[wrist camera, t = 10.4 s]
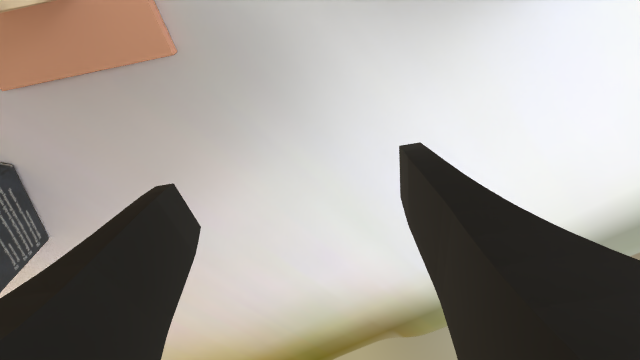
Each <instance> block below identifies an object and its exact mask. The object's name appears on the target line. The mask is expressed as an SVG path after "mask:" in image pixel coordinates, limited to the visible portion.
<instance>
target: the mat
mask: <svg viewBox="0 0 640 360" xmlns="http://www.w3.org/2000/svg"><path fill="white" fill-rule="evenodd" d="M175 53H177V50H176V48H175V46H174V44H173V41H172V39H171V37H170V35H169V33H168V30H167V28H166V26H165V24H164V22H163V19H162V17H161V15H160V13H159V11H158V9H157V6H156V4H155V2H154V0H56V1H51V2H47V3H43V4H38V5H34V6H30V7H25V8H21V9H17V10H12V11H8V12H4V13H0V89H1V90H2V91H6V90H10V89H15V88H20V87H25V86H29V85H34V84H39V83H43V82H48V81H53V80H58V79H62V78H67V77H72V76H77V75H81V74H86V73H91V72H96V71H100V70H105V69H110V68H114V67H119V66H124V65H129V64H133V63H138V62H143V61H148V60H152V59H157V58H162V57H166V56H171V55H174V54H175Z"/></svg>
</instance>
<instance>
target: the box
mask: <svg viewBox="0 0 640 360" xmlns="http://www.w3.org/2000/svg"><path fill="white" fill-rule="evenodd" d="M48 239H49V237H48V235H47V233H46V231H45V229H44V227H43V225H42V224H41V221H40V219H39V217H38V216H37V214H36V212H35V210H34V208H33V206H32V204H31V202H30V200H29V198H28V196H27V194H26V192H25V190H24V188H23V185H22V184H21V182H20V180H19V178H18V175H17V173H16V171H15V169H14V167H13V166H12V165H9V164H3V163H0V292H1V291H2V290H3V289H4V288H5V287H6V286H7V284H8V283H9V282H10V281H11V280H12V279H13V278H14V277H15V276H16V275H17V274H18V272H19V271H20V270H21V269H22V268H23V267H24V266H25V265H26V264H27V263H28V261H29V260H30V259H31V258H32V257H33V256H34V255H35V254H36V253H37V252H38V251H39V249H40V248H41V247H42V246H43V245H44V244H45V243H46V242H47V241H48Z"/></svg>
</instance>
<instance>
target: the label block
mask: <svg viewBox="0 0 640 360" xmlns="http://www.w3.org/2000/svg"><path fill="white" fill-rule="evenodd" d="M51 1H56V0H0V13H4V12H8V11H12V10H17V9H21V8H25V7H30V6H34V5H38V4H43V3H47V2H51Z"/></svg>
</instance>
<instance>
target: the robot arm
mask: <svg viewBox="0 0 640 360" xmlns="http://www.w3.org/2000/svg"><path fill="white" fill-rule="evenodd" d="M399 154H400V193H401V200H402V204H403V208H404V211H405V215H406V218H407V222H408V225H409V228H410V230H411V232H412V235H413V237H414V240H415V242H416V244H417V247H418V249H419V252H420V254H421V256H422V259H423V261H424V263H425V266H426V268H427V271H428V273H429V275H430V278H431V280H432V282H433V285H434V287H435V290H436V292H437V295H438V298H439V300H440V303H441V306H442V309H443V312H444V315H445V319H446V322H447V325H448V328H449V331H450V335H451V338H452V341H453V344H454V348H455V351H456V354H457V358H458V360H640V260H637V259H635V258H632V257H629V256H627V255H624V254H622V253H619V252H617V251H614V250H612V249H609V248H607V247H604V246H602V245H600V244H597V243H595V242H593V241H590V240H588V239H586V238H583V237H581V236H579V235H576V234H574V233H572V232H569V231H567V230H565V229H563V228H561V227H558V226H556V225H554V224H552V223H550V222H548V221H546V220H544V219H542V218H540V217H538V216H536V215H534V214H532V213H530V212H528V211H526V210H524V209H522V208H520V207H518V206H516V205H514V204H513V203H511V202H509V201H507V200H505V199H504V198H502V197H500V196H499V195H497V194H495V193H494V192H492V191H490V190H489V189H487V188H485V187H484V186H482V185H480V184H479V183H477V182H476V181H474V180H472V179H471V178H469V177H468V176H466V175H465V174H463V173H462V172H460V171H459V170H458V169H456V168H455V167H453V166H452V165H450V164H449V163H448V162H446V161H445V160H443V159H442V158H441V157H439V156H438V155H437V154H435V153H434V152H433V151H431V150H430V149H428V148H427V147H426V146H424V145H423V144H422V143H414V144H408V145H402V146H399ZM200 229H201V226H200V225H199V223H198V222H197V220H196V218H195V217H194V215H193V214H192V212H191V210H190V209H189V207H188V206H187V204H186V203H185V201H184V199H183V198H182V196H181V195H180V193H179V191H178V190H177V188H176V187H175V185H174V184H168V185H162V186H156V187H154V188H153V189H151V190H150V191H148V192H147V193H145V194H144V195H142V196H141V197H140V198H138V199H137V200H136V201H134V202H133V203H132V204H130V205H129V206H128V207H126V208H125V209H124V210H123V211H121V212H120V213H119V214H118V215H116V216H115V217H114V218H112V219H111V220H110V221H109V222H107V223H106V224H105V225H103V226H102V227H101V228H100V229H98V230H97V231H96V232H95V233H93V234H92V235H91V236H89V237H88V238H87V239H85V240H84V241H83V242H81V243H80V244H79V245H77V246H76V247H75V248H73V249H72V250H71V251H69V252H68V253H67V254H65V255H64V256H63V257H61V258H60V259H58V260H57V261H56V262H54V263H53V264H52V265H50V266H49V267H47V268H46V269H44V270H43V271H41V272H40V273H39V274H37V275H36V276H34V277H33V278H31V279H30V280H28V281H27V282H25V283H24V284H22V285H20V286H19V287H17V288H16V289H14V290H13V291H11V292H10V293H8V294H7V295H5V296H3V297H2V298H0V360H161V357H162V353H163V349H164V345H165V341H166V337H167V334H168V331H169V327H170V324H171V321H172V318H173V316H174V313H175V310H176V307H177V305H178V302H179V299H180V296H181V294H182V291H183V288H184V285H185V283H186V280H187V277H188V274H189V272H190V269H191V266H192V263H193V260H194V257H195V254H196V249H197V245H198V240H199V234H200Z"/></svg>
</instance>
